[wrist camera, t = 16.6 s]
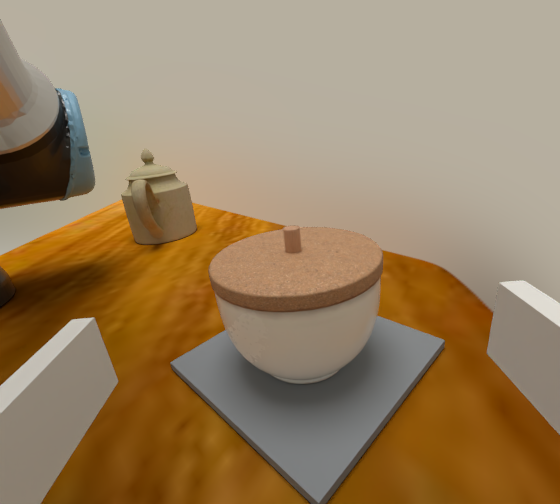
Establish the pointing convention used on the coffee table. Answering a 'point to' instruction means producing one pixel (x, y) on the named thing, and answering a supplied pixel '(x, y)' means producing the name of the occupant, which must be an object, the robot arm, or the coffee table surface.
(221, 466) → the coffee table surface
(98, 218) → the coffee table surface
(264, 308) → the lidded jar
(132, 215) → the beige teapot
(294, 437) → the slate mat
